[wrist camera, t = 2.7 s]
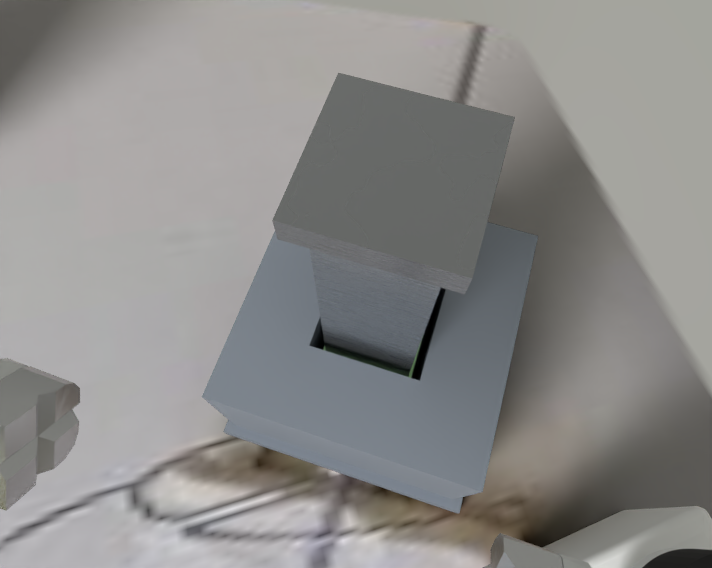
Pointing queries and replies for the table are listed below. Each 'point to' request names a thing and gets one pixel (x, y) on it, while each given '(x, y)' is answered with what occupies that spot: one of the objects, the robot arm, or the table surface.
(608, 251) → the table surface
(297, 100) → the table surface
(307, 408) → the stand
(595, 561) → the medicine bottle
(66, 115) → the table surface
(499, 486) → the table surface
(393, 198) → the column
